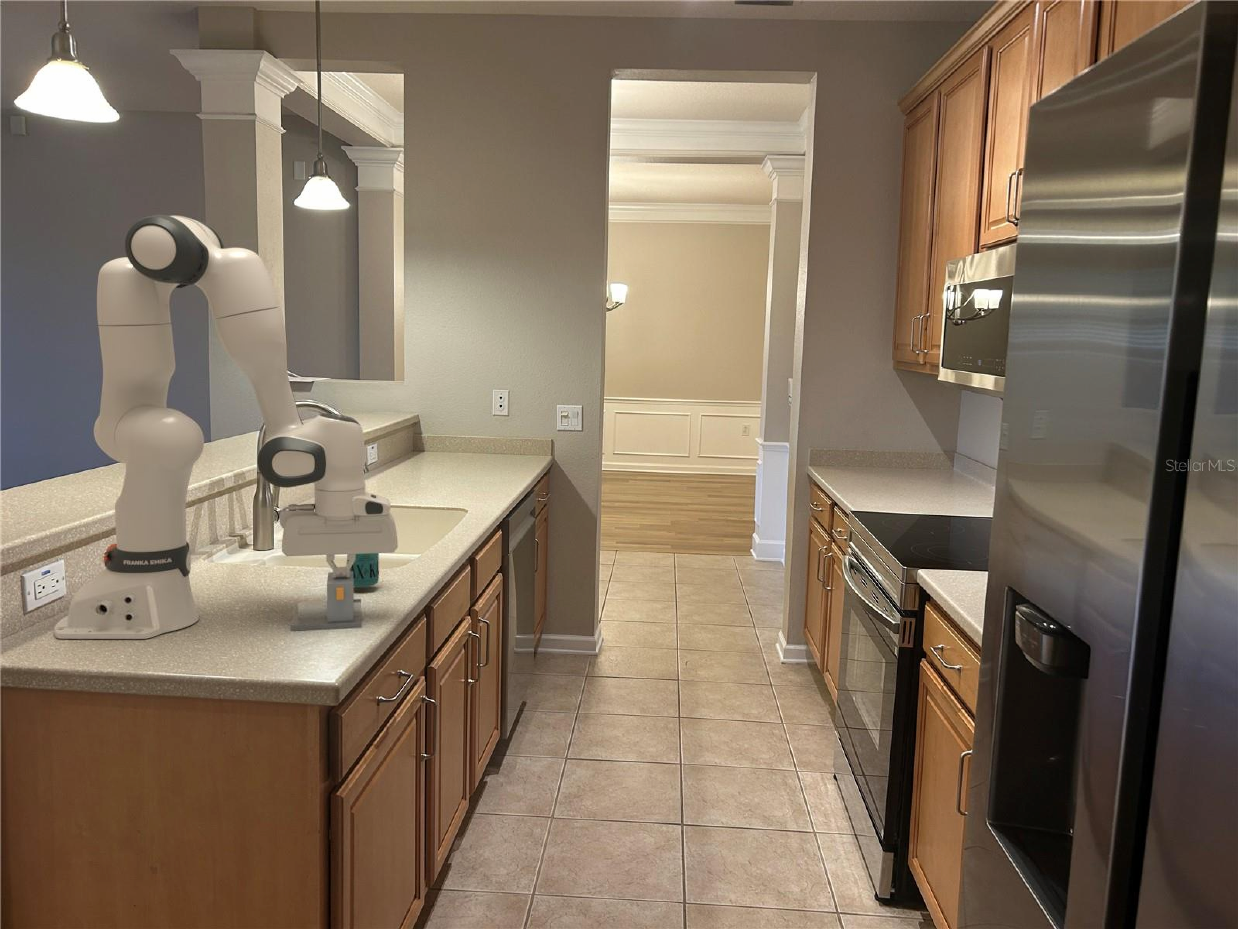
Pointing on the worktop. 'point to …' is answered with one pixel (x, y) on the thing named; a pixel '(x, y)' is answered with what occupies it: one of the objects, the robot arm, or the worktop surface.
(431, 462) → the worktop surface
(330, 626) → the grey ledge plate
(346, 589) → the module
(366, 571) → the beverage bottle
